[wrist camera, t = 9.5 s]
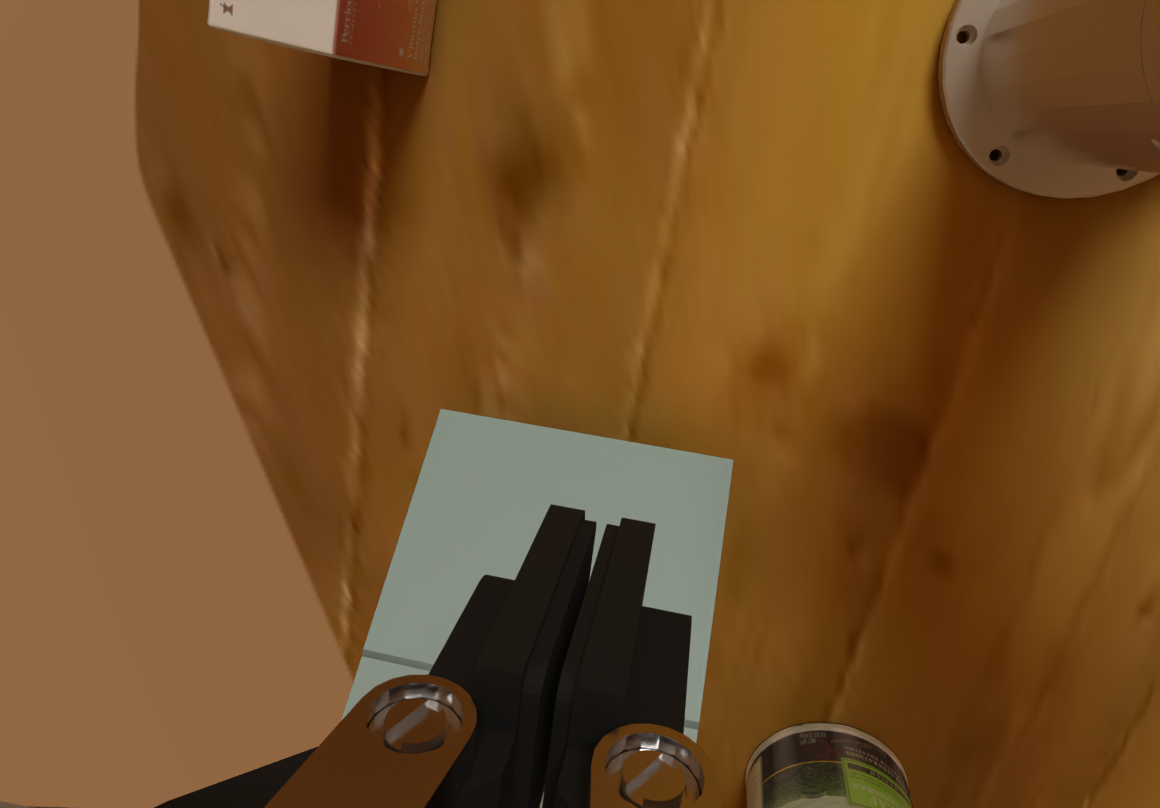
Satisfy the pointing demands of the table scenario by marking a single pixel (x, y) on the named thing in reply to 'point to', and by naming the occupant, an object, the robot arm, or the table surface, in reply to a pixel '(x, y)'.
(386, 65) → the small box
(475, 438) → the flap
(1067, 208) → the table surface
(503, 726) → the robot arm
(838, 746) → the coffee can
